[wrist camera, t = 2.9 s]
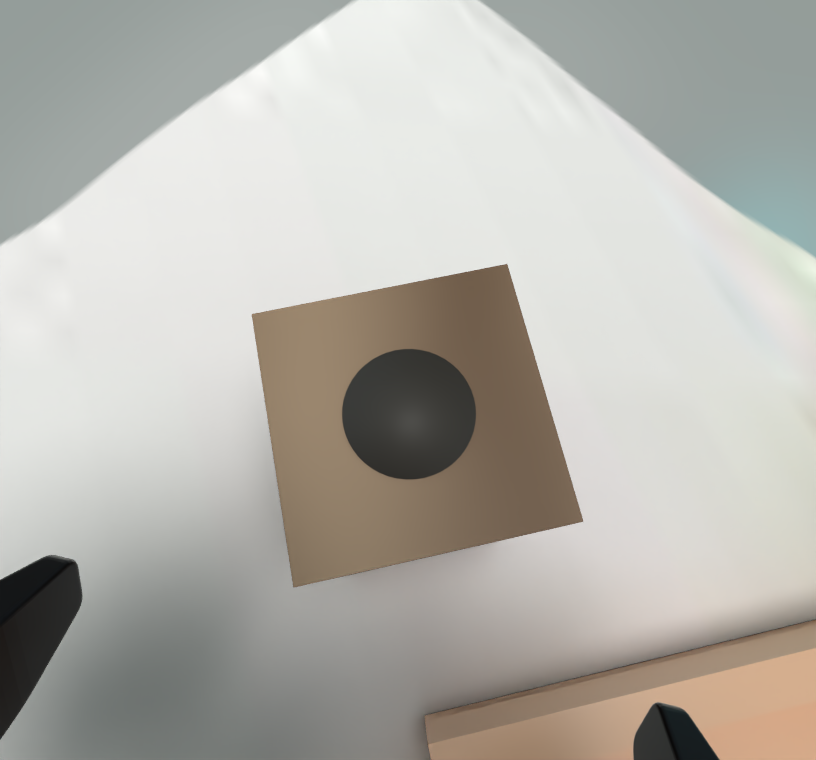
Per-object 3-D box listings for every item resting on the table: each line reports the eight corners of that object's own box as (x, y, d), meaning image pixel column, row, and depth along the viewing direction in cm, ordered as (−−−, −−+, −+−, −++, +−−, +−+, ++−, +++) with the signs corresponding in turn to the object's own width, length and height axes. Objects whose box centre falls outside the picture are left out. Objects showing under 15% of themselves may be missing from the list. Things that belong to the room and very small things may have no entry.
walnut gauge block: (348, 574, 19) (293, 587, 10) (322, 428, 21) (251, 313, 11) (497, 541, 20) (583, 521, 10) (461, 398, 21) (507, 262, 12)
